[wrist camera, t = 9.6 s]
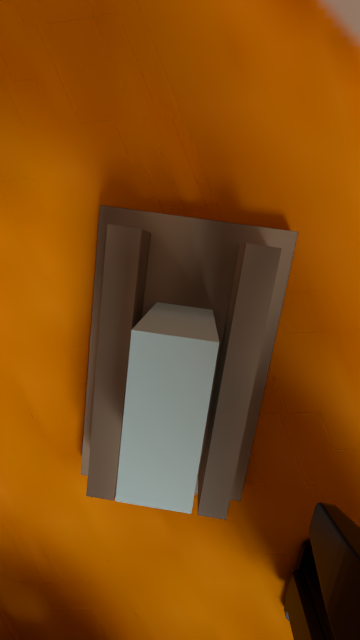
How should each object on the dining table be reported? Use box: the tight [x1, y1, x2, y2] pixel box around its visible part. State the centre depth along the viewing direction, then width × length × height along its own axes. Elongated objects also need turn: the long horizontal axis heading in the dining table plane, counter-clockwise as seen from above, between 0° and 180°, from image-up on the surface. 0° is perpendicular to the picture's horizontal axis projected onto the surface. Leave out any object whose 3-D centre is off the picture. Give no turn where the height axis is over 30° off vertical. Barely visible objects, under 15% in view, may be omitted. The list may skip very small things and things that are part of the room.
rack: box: [81, 205, 298, 520], centre depth 16 cm, size 10×16×4 cm, turn 172°
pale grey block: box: [115, 302, 219, 514], centre depth 14 cm, size 3×7×6 cm, turn 173°
